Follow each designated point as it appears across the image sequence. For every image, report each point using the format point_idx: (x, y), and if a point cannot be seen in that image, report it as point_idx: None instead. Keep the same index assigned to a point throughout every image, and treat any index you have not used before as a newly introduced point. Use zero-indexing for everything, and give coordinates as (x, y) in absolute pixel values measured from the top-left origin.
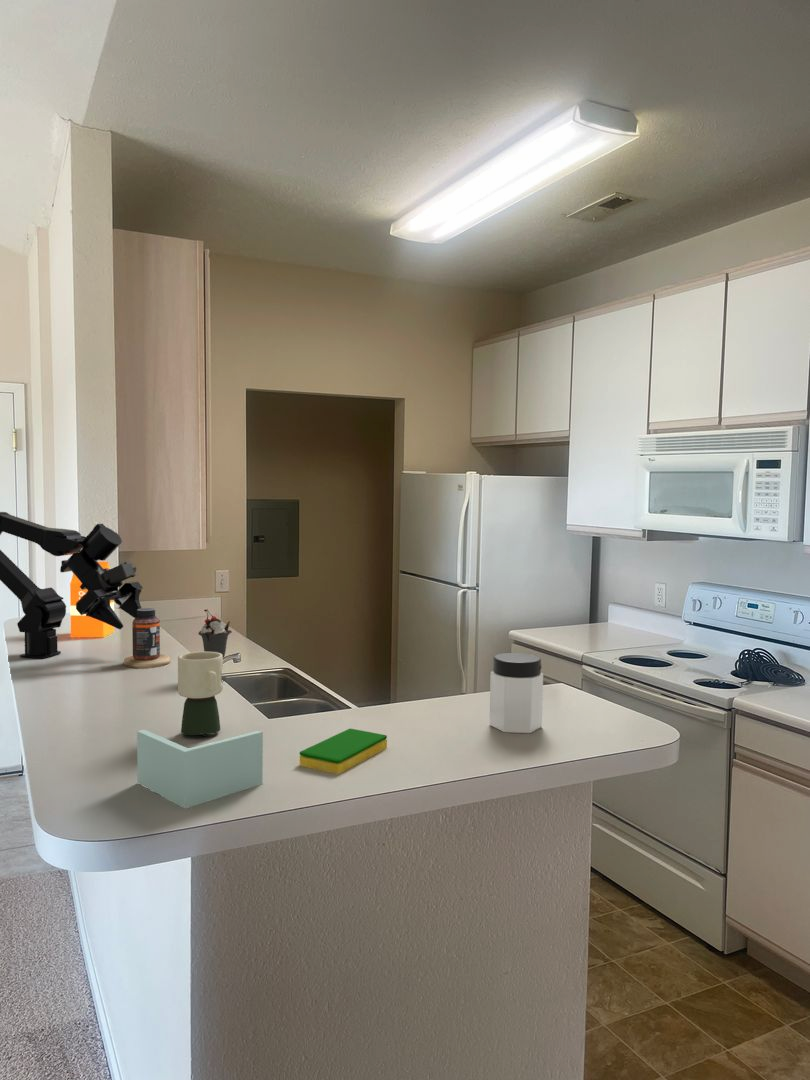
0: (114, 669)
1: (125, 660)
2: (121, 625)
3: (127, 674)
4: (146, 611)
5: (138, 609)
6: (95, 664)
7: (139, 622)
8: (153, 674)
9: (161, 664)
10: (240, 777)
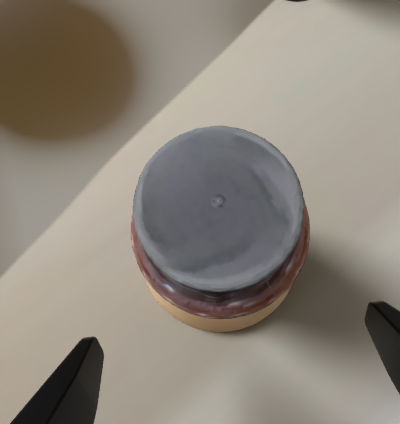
0: (345, 287)
1: (276, 301)
2: (391, 307)
3: (375, 199)
4: (276, 151)
5: (268, 255)
6: (320, 418)
7: (306, 209)
8: (333, 132)
9: None
10: None
